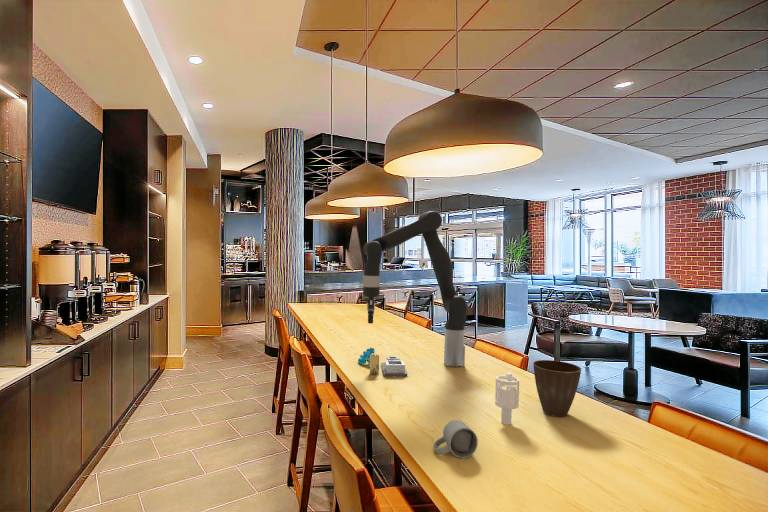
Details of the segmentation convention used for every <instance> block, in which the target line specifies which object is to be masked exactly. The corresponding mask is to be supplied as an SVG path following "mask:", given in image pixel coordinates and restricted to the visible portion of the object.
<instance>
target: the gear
mask: <svg viewBox="0 0 768 512" xmlns="http://www.w3.org/2000/svg"><path fill="white" fill-rule="evenodd" d="M372 354H375V348H374V347H369V348H366V350H364V351H363V352H362V354H360V355H359V358H358V359H357V361H358V362H357V364H358V365H363V364H364V365H365V364H366V363H368V364H369V365H370V355H372Z"/></svg>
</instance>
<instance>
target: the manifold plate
mask: <svg viewBox="0 0 768 512" xmlns="http://www.w3.org/2000/svg"><path fill="white" fill-rule="evenodd" d="M380 367H381V369H382V374H383V377H393V376H407V377H408V373H407V370H406V364H405V362H404V360H402V359H401V360H400V357H399V356H398V355H397V356H396V355H393V356H392V355H386V359H385V360H384V362H381V363H380Z"/></svg>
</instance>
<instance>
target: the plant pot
mask: <svg viewBox="0 0 768 512" xmlns="http://www.w3.org/2000/svg"><path fill="white" fill-rule="evenodd" d="M532 367H533V372H534V373H533V374H534V380H535V381H534V382H535V386H536V391H537V395H538V399H539V402H540V405H541V409H542V411H543V413H544V414H546V415H548V416H550V417H551V416H552V417H555V416H558V417H557V418H564V417H563V416H565V417H567V415H568V413H569V411H570V410H571V407H572V404H573V402H574V400H575V396H576V394H577V390H578V387H579V384H580V379H581V373H582V368H581V367H580V366H578V365H576V364H574V363H570V362H567V361H566V362H565V361H562V360H561V361H559V360H554V359H551V360H550V359H541V360H540V359H539V360H536V361H534V362H533V363H532Z"/></svg>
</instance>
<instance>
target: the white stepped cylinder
mask: <svg viewBox="0 0 768 512" xmlns="http://www.w3.org/2000/svg"><path fill="white" fill-rule="evenodd" d="M503 387H506V389H505V388H503ZM494 395H495V398H494V402H495V403H494V404H495V406H496V407H498V408H501V413H500V414H501V420H500V421H501V422H500V423H501V424H503V425H506V426H507V425H508V426H509V425H512V413H513V412H512V411H513V410H516V409H518V408H519V404H520V403H519V401H520V399H519V398H520V379H519V378H518V377H516V376H513V373H512V372H509V371H508V372H507V373H506V375H504V374H503V375H497V376H496V377H495V394H494Z"/></svg>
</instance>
